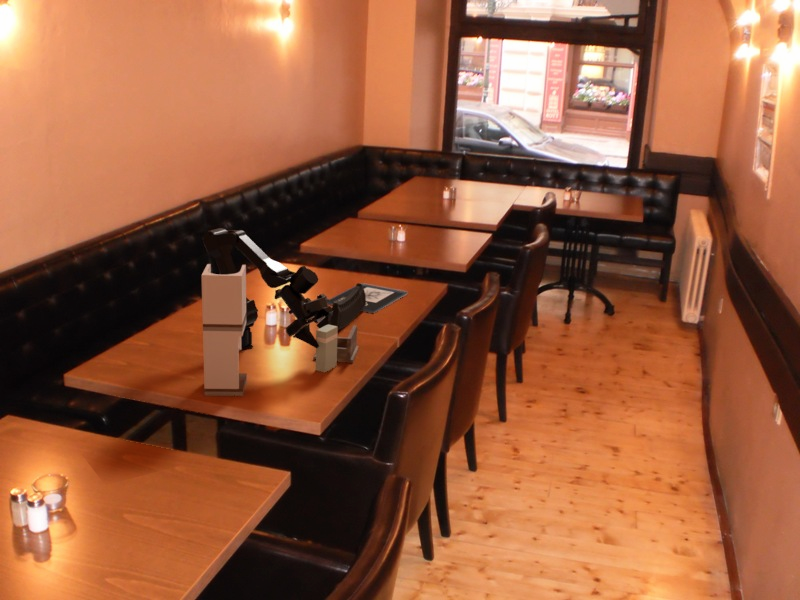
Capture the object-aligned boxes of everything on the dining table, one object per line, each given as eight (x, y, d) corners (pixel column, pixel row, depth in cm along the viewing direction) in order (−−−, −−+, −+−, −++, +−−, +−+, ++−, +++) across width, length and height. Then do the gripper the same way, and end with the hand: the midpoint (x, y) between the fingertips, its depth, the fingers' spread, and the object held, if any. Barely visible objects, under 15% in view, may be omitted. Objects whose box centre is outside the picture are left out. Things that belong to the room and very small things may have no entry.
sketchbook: (323, 305, 324) (323, 300, 323) (361, 286, 350) (361, 281, 349) (373, 315, 315) (373, 309, 314) (408, 295, 341) (408, 290, 340)
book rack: (313, 359, 268) (313, 336, 265) (321, 345, 280) (321, 322, 278) (352, 363, 267) (353, 339, 264) (358, 348, 279) (359, 325, 277)
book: (315, 370, 260) (316, 330, 256) (327, 363, 265) (327, 324, 261) (325, 372, 258) (326, 332, 254) (336, 366, 264) (337, 326, 260)
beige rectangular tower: (242, 395, 239) (241, 275, 229) (204, 395, 238) (201, 275, 228) (246, 380, 250) (245, 264, 240) (210, 379, 249) (207, 264, 239)
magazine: (334, 312, 286) (363, 266, 310) (325, 310, 287) (355, 265, 311) (338, 352, 296) (366, 305, 319) (330, 351, 296) (358, 304, 320)
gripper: (294, 294, 249) (325, 337, 247) (328, 280, 265) (358, 320, 263) (272, 315, 255) (303, 357, 253) (307, 300, 270) (336, 339, 269)
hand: (326, 342), depth 259 cm, fingers open, 9 cm apart
